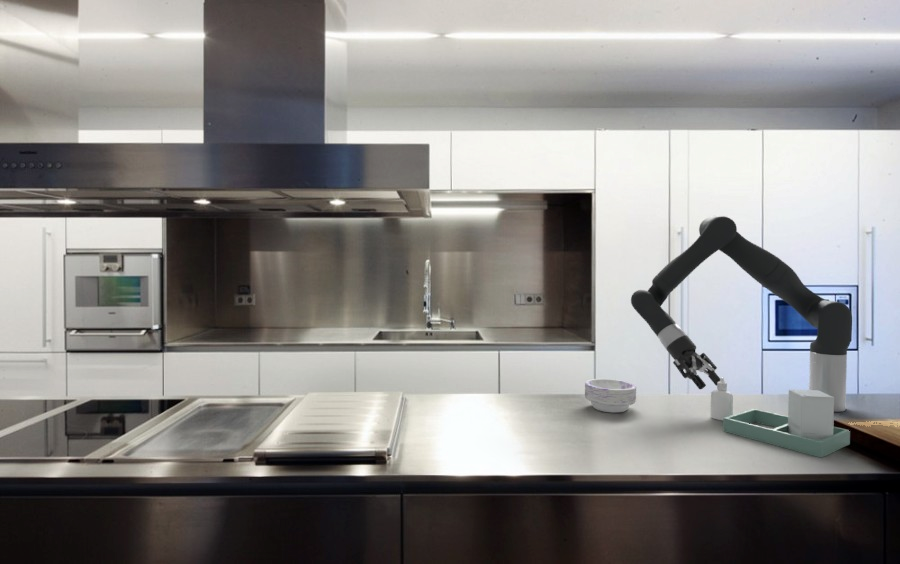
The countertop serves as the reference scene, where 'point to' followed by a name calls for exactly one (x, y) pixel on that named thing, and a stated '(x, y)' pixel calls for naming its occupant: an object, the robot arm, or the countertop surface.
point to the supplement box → (810, 414)
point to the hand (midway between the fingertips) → (711, 385)
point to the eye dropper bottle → (721, 401)
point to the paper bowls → (610, 394)
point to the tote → (782, 433)
